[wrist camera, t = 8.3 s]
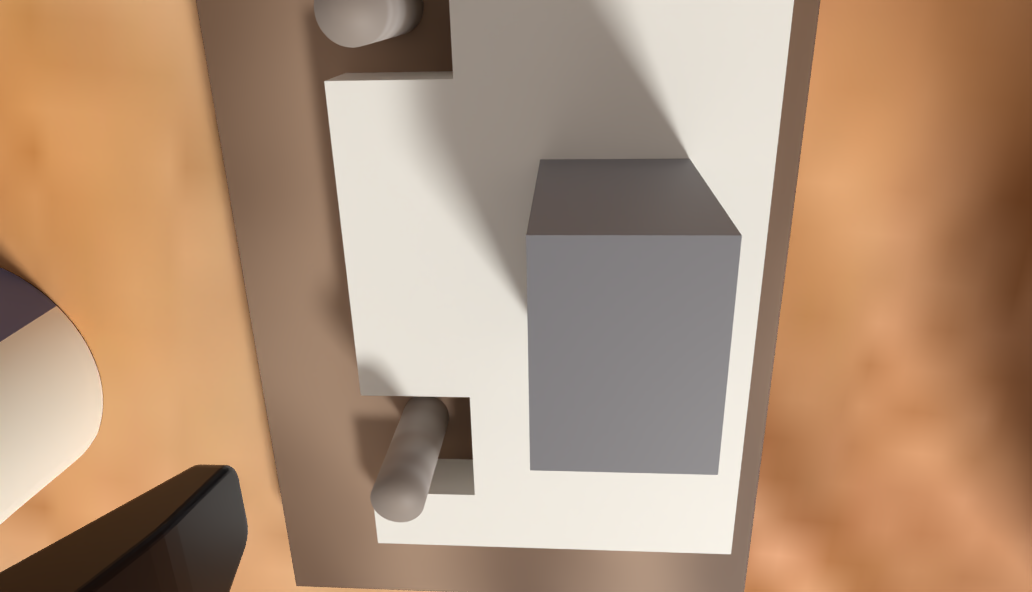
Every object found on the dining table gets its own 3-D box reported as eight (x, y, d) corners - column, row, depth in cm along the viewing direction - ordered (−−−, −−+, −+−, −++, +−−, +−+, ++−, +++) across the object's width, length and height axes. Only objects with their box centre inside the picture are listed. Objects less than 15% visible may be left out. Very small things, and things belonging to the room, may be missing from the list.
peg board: (831, -336, 14) (971, -509, 9) (728, 553, 23) (773, 713, 18) (189, -303, 15) (1, -445, 10) (317, 539, 24) (249, 688, 19)
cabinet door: (792, -179, 14) (960, -306, 8) (719, 515, 20) (782, 740, 14) (320, -161, 14) (144, -264, 9) (391, 505, 21) (316, 717, 15)
